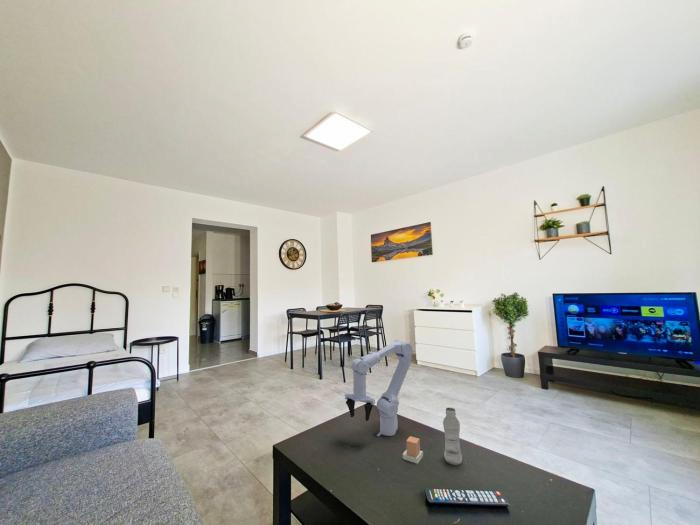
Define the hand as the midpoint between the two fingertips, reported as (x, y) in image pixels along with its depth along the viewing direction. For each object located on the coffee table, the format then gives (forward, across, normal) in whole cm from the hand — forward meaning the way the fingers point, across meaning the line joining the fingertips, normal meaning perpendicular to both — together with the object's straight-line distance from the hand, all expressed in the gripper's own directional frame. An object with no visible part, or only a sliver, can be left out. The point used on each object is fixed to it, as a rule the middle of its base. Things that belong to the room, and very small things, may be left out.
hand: (359, 418), depth 125 cm
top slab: (+9, +25, -2) cm, 27 cm away
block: (+7, +25, -3) cm, 26 cm away
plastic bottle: (+10, +39, +4) cm, 41 cm away
